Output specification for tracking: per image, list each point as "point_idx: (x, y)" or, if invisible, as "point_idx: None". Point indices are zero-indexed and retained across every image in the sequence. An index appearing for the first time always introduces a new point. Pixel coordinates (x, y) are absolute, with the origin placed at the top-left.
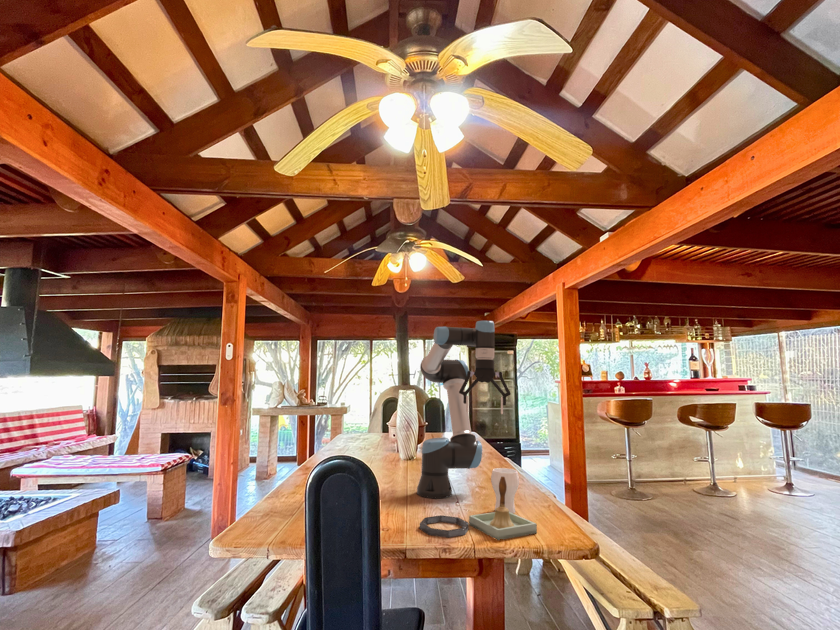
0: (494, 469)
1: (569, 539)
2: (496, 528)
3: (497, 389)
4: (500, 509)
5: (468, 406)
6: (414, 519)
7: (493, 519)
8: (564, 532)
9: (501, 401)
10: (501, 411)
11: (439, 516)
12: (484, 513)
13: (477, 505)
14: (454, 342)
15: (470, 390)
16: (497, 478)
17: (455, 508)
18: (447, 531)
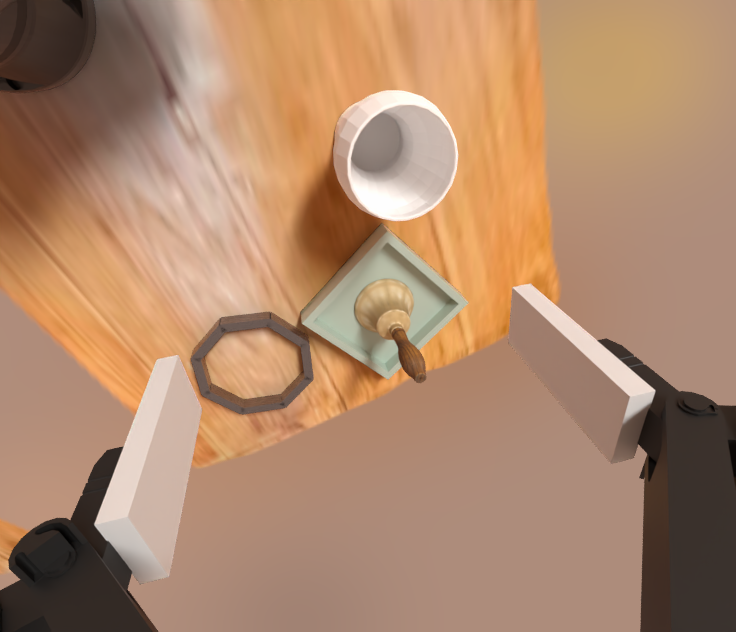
0: (351, 151)
1: None
2: (383, 372)
3: (642, 570)
4: (391, 337)
5: (176, 417)
6: (150, 339)
7: (367, 321)
8: (522, 257)
9: (582, 421)
10: (524, 354)
11: (220, 334)
12: (335, 287)
13: (261, 108)
14: None
15: (140, 614)
16: (372, 215)
17: (204, 186)
18: (283, 407)
